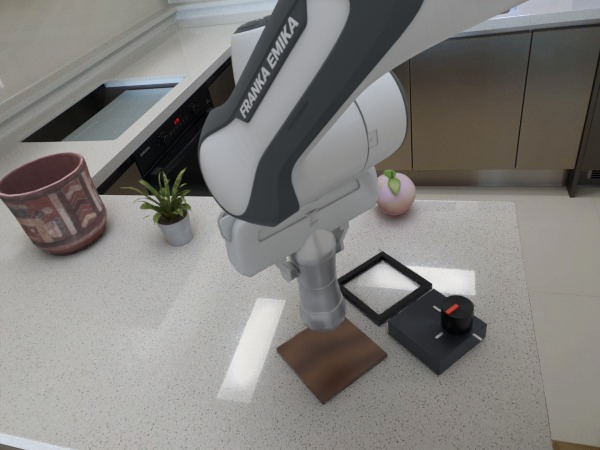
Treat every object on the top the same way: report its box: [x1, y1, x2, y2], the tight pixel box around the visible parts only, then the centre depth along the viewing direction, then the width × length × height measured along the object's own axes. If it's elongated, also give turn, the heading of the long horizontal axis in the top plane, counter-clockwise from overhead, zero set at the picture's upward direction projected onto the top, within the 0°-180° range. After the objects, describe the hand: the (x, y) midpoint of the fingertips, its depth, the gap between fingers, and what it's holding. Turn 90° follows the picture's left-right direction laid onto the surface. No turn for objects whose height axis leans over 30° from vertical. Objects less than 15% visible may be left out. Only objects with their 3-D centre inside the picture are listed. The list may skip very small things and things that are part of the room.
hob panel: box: [387, 287, 488, 376], centre depth 68 cm, size 11×11×3 cm
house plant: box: [121, 167, 194, 247], centre depth 95 cm, size 14×14×16 cm
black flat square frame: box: [337, 250, 433, 327], centre depth 79 cm, size 12×12×1 cm
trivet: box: [275, 316, 388, 405], centre depth 69 cm, size 12×12×1 cm
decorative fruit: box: [376, 169, 417, 216], centre depth 93 cm, size 9×8×10 cm
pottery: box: [0, 151, 108, 256], centre depth 101 cm, size 18×18×18 cm
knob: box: [441, 294, 475, 334], centre depth 66 cm, size 4×4×4 cm
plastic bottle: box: [287, 208, 347, 333], centre depth 59 cm, size 6×7×20 cm
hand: (313, 263), depth 59 cm, fingers closed on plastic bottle, 6 cm apart
